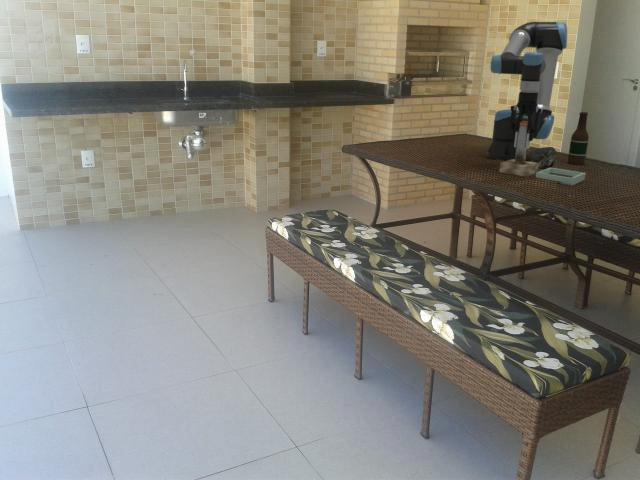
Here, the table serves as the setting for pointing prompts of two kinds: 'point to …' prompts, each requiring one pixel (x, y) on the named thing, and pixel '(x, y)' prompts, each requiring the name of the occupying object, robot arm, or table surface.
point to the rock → (543, 157)
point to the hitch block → (519, 167)
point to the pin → (522, 141)
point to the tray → (562, 180)
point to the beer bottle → (579, 142)
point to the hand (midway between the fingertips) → (521, 147)
